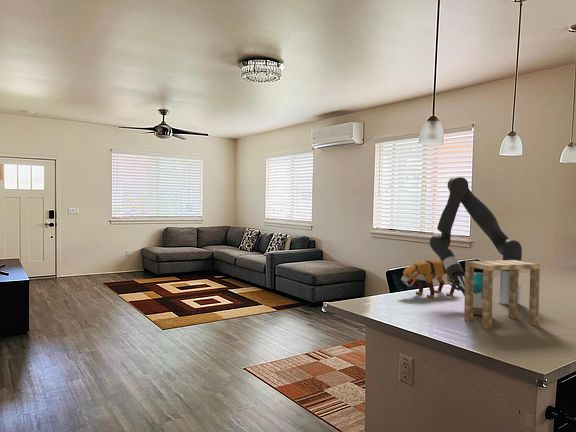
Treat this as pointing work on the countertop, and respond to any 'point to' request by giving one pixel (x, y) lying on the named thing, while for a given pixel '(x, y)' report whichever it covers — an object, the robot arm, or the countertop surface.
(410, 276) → the toy
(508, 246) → the robot arm
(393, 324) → the countertop surface
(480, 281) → the vase
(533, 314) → the riser shelf
